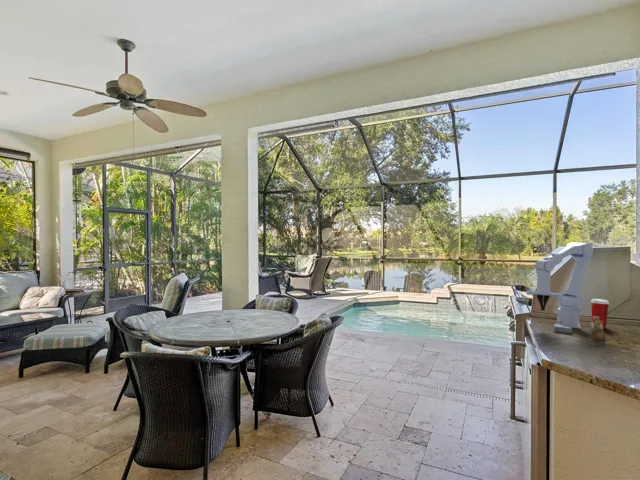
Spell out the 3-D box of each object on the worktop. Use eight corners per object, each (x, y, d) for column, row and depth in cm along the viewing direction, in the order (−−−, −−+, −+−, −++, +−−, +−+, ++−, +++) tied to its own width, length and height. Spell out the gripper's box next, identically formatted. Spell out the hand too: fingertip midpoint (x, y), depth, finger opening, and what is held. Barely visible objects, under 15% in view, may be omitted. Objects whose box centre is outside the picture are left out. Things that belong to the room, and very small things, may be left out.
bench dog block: (591, 338, 160) (592, 321, 160) (590, 332, 172) (590, 315, 172) (602, 340, 158) (603, 323, 158) (600, 333, 170) (601, 317, 169)
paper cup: (601, 325, 186) (602, 298, 186) (612, 329, 178) (613, 301, 178) (586, 324, 187) (586, 298, 186) (595, 328, 179) (596, 301, 179)
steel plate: (554, 332, 172) (554, 326, 172) (554, 329, 177) (554, 323, 177) (571, 334, 168) (571, 328, 168) (571, 331, 174) (571, 325, 174)
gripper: (526, 282, 178) (525, 309, 178) (560, 285, 170) (559, 313, 170) (527, 281, 184) (527, 307, 184) (561, 284, 175) (560, 311, 176)
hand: (542, 310), depth 177 cm, fingers closed
